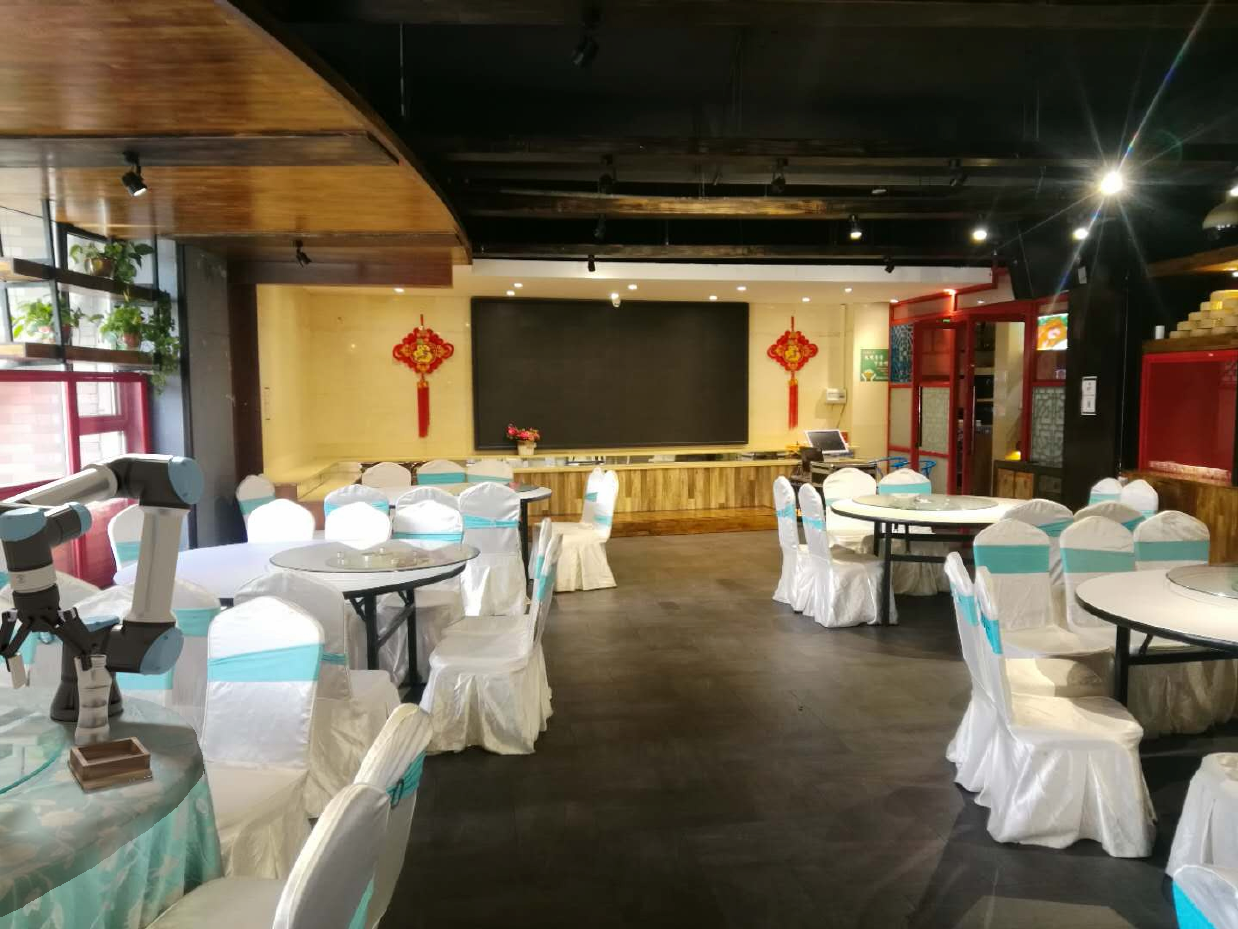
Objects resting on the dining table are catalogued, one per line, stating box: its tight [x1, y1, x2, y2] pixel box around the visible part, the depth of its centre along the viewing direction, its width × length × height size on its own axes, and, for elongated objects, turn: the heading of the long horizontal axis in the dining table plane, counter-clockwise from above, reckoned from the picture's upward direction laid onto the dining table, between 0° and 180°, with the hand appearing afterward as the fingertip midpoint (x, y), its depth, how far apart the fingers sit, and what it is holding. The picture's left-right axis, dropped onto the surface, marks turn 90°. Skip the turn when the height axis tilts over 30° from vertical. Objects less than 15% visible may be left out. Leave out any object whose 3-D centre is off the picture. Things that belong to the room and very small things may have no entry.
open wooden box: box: [67, 736, 153, 791], centre depth 174 cm, size 16×12×4 cm
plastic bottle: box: [74, 655, 112, 746], centre depth 185 cm, size 6×7×20 cm
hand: (53, 685), depth 169 cm, fingers open, 13 cm apart
